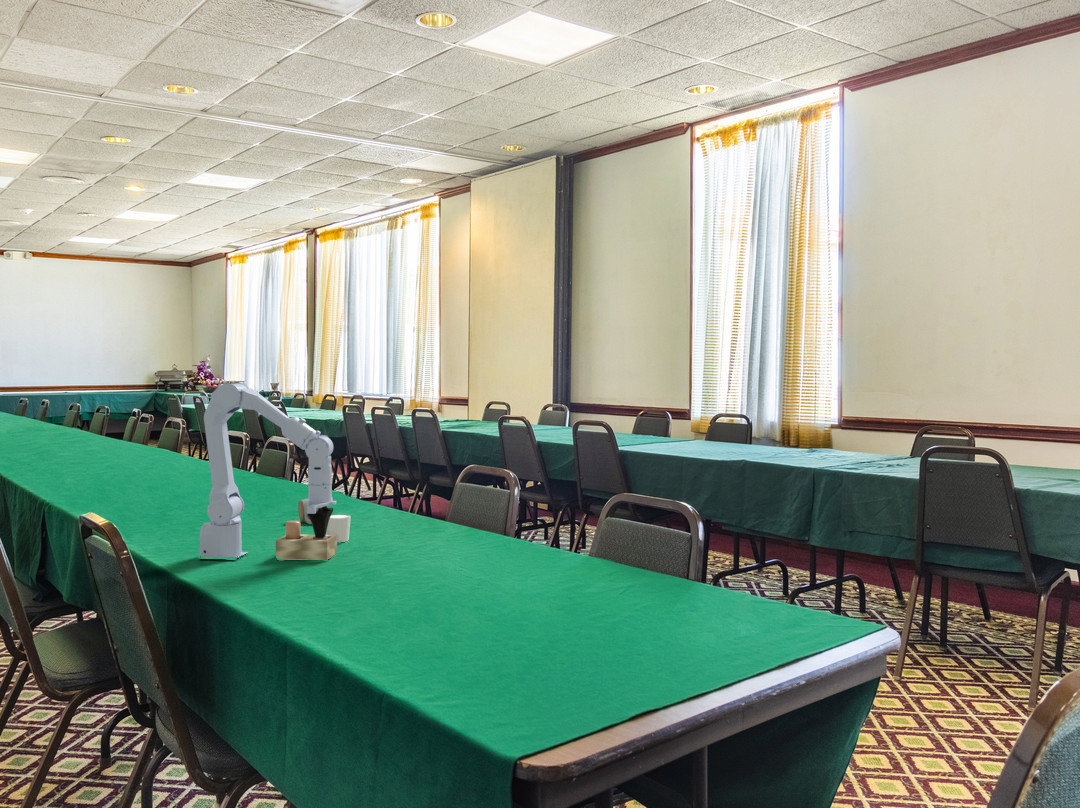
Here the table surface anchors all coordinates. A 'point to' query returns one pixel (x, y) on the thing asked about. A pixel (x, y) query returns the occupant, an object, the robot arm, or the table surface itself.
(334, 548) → the maple block
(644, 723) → the table surface
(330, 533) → the white cup
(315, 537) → the walnut peg
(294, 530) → the terracotta peg
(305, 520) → the ceramic mug
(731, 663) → the table surface
